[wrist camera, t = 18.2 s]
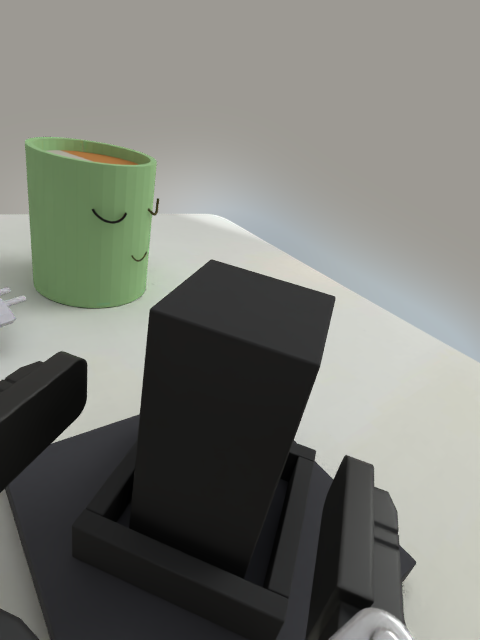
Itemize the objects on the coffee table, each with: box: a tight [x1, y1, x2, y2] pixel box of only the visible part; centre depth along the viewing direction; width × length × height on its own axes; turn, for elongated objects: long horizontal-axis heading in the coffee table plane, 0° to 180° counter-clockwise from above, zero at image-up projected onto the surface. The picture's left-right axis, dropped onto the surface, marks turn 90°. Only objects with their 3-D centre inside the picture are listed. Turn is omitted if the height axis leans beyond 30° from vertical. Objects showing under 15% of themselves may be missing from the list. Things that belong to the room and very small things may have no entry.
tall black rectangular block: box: [129, 260, 335, 579], centre depth 16 cm, size 5×5×11 cm
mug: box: [25, 137, 159, 308], centre depth 37 cm, size 13×10×12 cm
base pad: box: [5, 414, 416, 640], centre depth 18 cm, size 14×14×4 cm
